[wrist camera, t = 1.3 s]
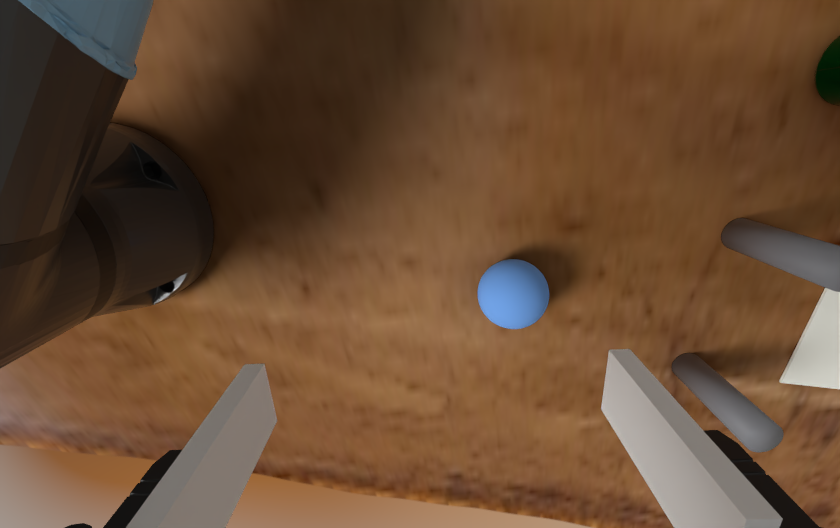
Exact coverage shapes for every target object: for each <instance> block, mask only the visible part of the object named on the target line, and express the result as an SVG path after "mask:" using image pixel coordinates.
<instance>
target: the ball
mask: <svg viewBox="0 0 840 528" xmlns="http://www.w3.org/2000/svg"><path fill="white" fill-rule="evenodd" d="M478 301H479V304H480V307H481V309H482V311H483V313H484V314H485V315H486V317H487V318H488V319H489V320H491V321H492V322H493V323H495V324H497V325H498V326H501V327H504V328H509V329H520V328H524V327H527V326H530V325H532V324H533V323H535V322H536V321H537V320H538V319H540V317H541V316H542V315H543V313H544V312H545V310H546V308H547V305H548V302H549V288H548V284H547V281H546V279H545V277H544V276H543V274H542V273H541V272H540V271H539V270H538V269H537V268H536V267H535V266H534V265H532V264H530V263H528V262H526V261H523V260H518V259H508V260H503V261H500V262H498V263H496V264H494V265H492V266H491V267H490V268H489V269H488V270H487V271H486V272H485V273H484V274H483V276H482V278H481V280H480V282H479V286H478Z"/></svg>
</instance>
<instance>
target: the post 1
mask: <svg viewBox="0 0 840 528" xmlns="http://www.w3.org/2000/svg"><path fill="white" fill-rule="evenodd" d="M721 240H722V243H723V244H724V245H725V246H726V247H727V248H730V249H732V250H735V251H737V252H740V253H742V254H744V255H747V256H749V257H752V258H754V259H757V260H759V261H762V262H764V263H767V264H769V265H771V266H774V267H776V268H779V269H781V270H784V271H786V272H789V273H791V274H793V275H796V276H798V277H801V278H803V279H806V280H808V281H811V282H813V283H815V284H818V285H820V286H823V287H825V288H828V289H830V290H833V291H836V292H840V246H838V245H834V244H831V243H827V242H824V241H821V240H817V239H814V238H810V237H807V236H804V235H800V234H797V233H793V232H790V231H786V230H783V229H780V228H776V227H773V226H769V225H766V224H762V223H759V222H756V221H752V220H749V219H745V218H739V219H735V220H733V221H731V222H730V223H728V224H727V225H726V226H725V228H724V229H723V231H722V234H721Z"/></svg>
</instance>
